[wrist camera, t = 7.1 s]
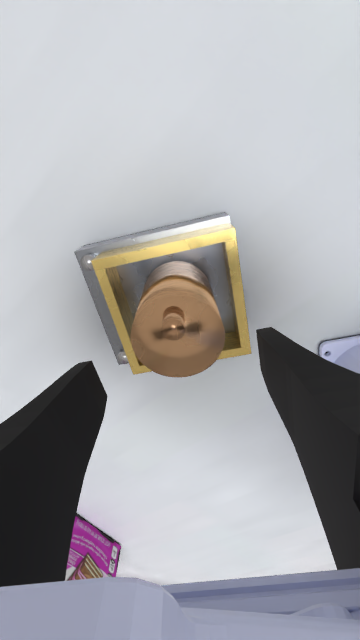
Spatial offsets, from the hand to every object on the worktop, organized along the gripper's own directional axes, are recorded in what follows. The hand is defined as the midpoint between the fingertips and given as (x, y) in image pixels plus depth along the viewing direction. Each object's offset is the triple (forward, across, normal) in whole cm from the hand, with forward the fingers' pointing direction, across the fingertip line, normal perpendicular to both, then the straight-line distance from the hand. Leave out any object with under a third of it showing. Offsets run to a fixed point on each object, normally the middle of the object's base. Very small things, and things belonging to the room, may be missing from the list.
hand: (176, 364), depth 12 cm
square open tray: (+10, +1, 0) cm, 10 cm away
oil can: (+8, 0, 0) cm, 8 cm away
